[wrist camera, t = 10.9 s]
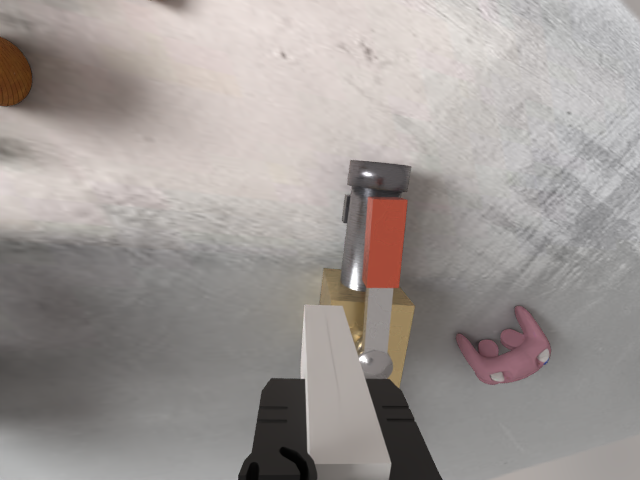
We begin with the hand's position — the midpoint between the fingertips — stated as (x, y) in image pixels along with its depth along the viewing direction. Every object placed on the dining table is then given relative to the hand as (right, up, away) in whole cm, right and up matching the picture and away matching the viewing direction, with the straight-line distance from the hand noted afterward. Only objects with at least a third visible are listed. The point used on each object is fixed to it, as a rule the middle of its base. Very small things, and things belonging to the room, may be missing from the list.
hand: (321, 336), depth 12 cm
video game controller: (+23, -9, +29) cm, 38 cm away
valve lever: (+5, -1, +14) cm, 15 cm away
